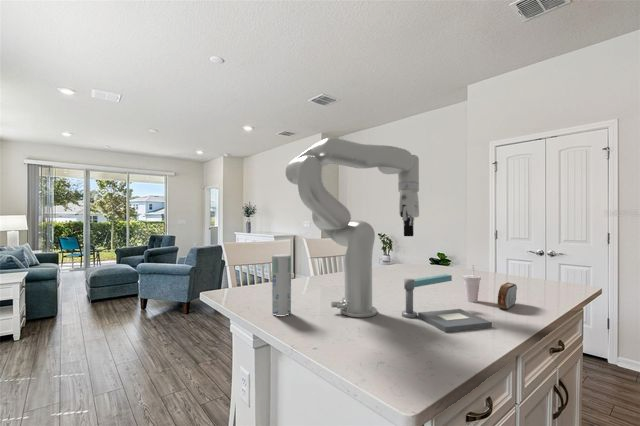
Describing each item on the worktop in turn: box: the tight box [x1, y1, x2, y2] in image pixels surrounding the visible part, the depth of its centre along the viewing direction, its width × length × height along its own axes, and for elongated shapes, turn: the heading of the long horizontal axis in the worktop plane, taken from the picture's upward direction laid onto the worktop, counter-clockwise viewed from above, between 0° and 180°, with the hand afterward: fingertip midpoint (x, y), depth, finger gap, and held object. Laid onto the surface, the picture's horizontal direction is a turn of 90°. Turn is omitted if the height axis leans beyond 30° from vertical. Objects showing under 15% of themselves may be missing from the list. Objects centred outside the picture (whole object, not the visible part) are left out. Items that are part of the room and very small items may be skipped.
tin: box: [497, 282, 518, 310], centre depth 114 cm, size 15×3×8 cm, turn 134°
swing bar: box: [403, 273, 453, 291], centre depth 109 cm, size 23×3×3 cm, turn 122°
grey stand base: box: [401, 289, 493, 333], centre depth 100 cm, size 20×18×9 cm
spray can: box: [271, 253, 292, 315], centre depth 107 cm, size 6×6×20 cm
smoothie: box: [462, 264, 482, 303], centre depth 122 cm, size 6×6×14 cm
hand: (408, 236), depth 119 cm, fingers closed
